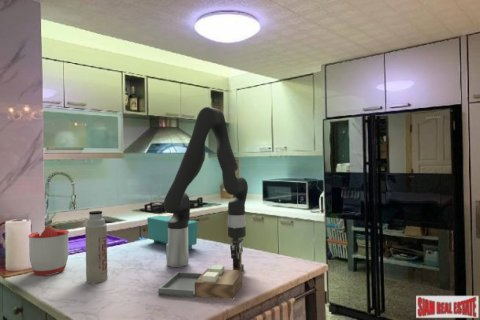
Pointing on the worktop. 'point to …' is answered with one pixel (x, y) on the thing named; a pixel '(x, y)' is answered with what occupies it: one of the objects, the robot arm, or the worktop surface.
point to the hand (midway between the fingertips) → (237, 265)
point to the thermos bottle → (96, 248)
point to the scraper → (241, 266)
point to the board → (220, 285)
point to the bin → (180, 285)
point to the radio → (160, 230)
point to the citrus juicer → (48, 251)
